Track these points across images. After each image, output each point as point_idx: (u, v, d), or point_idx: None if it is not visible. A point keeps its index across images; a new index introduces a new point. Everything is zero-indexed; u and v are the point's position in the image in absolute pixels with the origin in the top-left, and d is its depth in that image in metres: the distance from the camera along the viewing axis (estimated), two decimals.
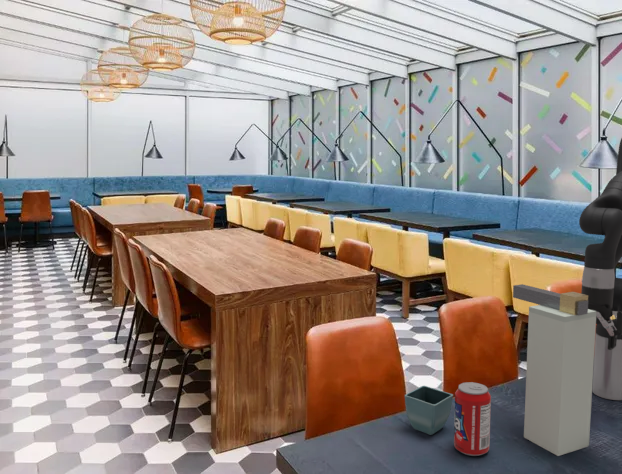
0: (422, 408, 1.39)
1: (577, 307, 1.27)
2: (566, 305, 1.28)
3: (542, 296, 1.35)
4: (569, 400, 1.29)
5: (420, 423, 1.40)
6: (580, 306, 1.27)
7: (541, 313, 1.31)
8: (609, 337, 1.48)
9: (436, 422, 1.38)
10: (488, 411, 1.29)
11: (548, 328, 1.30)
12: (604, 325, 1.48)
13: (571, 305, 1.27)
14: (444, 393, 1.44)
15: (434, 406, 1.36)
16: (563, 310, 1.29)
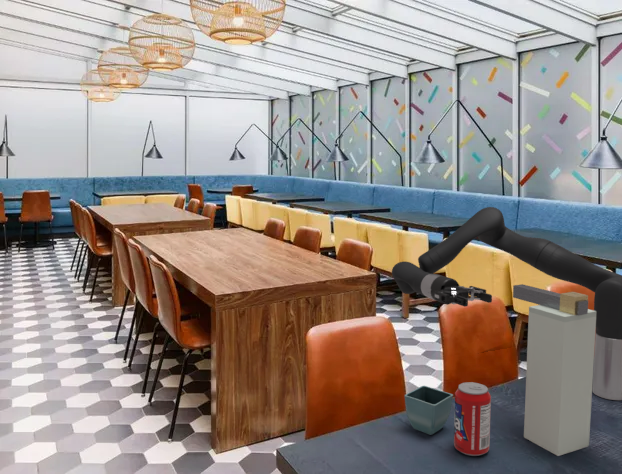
0: (422, 408, 1.39)
1: (577, 307, 1.27)
2: (566, 305, 1.28)
3: (542, 296, 1.35)
4: (569, 400, 1.29)
5: (420, 423, 1.40)
6: (580, 306, 1.27)
7: (541, 313, 1.31)
8: (482, 292, 1.60)
9: (436, 422, 1.38)
10: (488, 411, 1.29)
11: (548, 328, 1.30)
12: (471, 288, 1.62)
13: (571, 305, 1.27)
14: (444, 393, 1.44)
15: (434, 406, 1.36)
16: (563, 310, 1.29)
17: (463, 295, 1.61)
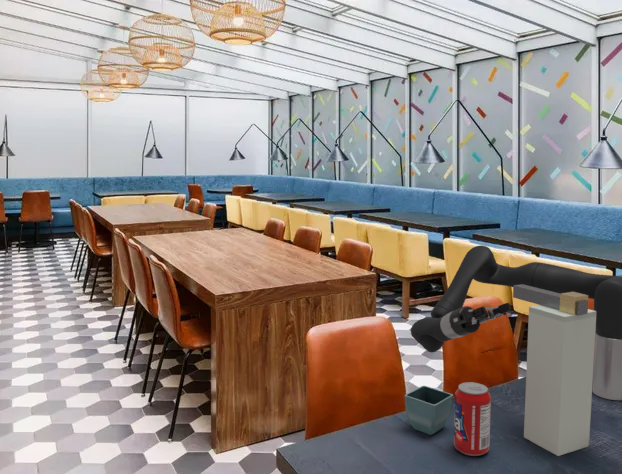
0: (422, 408, 1.39)
1: (577, 307, 1.27)
2: (566, 305, 1.28)
3: (542, 296, 1.35)
4: (569, 400, 1.29)
5: (420, 423, 1.40)
6: (580, 306, 1.27)
7: (541, 313, 1.31)
8: None
9: (436, 422, 1.38)
10: (488, 411, 1.29)
11: (548, 328, 1.30)
12: None
13: (571, 305, 1.27)
14: (444, 393, 1.44)
15: (434, 406, 1.36)
16: (563, 310, 1.29)
17: None
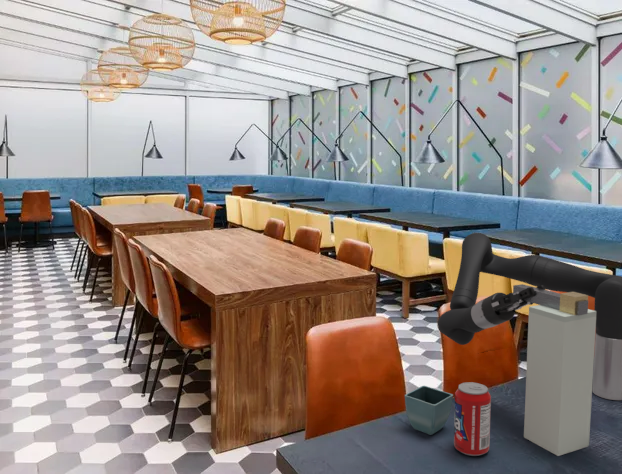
0: (422, 408, 1.39)
1: (577, 307, 1.27)
2: (566, 305, 1.28)
3: (542, 296, 1.35)
4: (569, 400, 1.29)
5: (420, 423, 1.40)
6: (580, 306, 1.27)
7: (541, 313, 1.31)
8: None
9: (436, 422, 1.38)
10: (488, 411, 1.29)
11: (548, 328, 1.30)
12: None
13: (571, 305, 1.27)
14: (444, 393, 1.44)
15: (434, 406, 1.36)
16: (563, 310, 1.29)
17: None
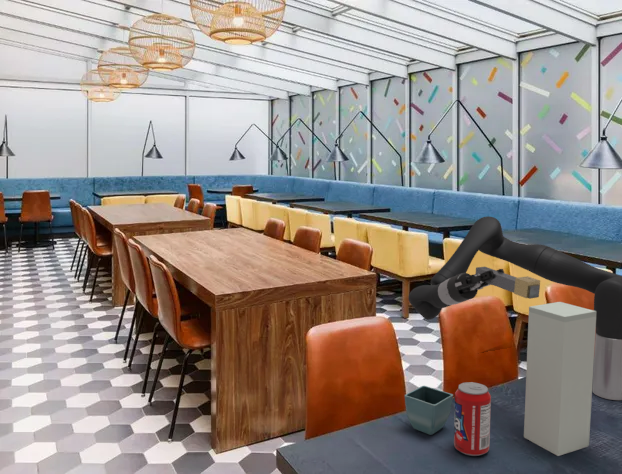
0: (422, 408, 1.39)
1: (529, 291, 1.38)
2: (520, 288, 1.40)
3: (500, 279, 1.47)
4: (569, 400, 1.29)
5: (420, 423, 1.40)
6: (532, 290, 1.38)
7: (541, 313, 1.31)
8: None
9: (436, 422, 1.38)
10: (488, 411, 1.29)
11: (548, 328, 1.30)
12: None
13: (524, 289, 1.39)
14: (444, 393, 1.44)
15: (434, 406, 1.36)
16: (517, 293, 1.41)
17: None
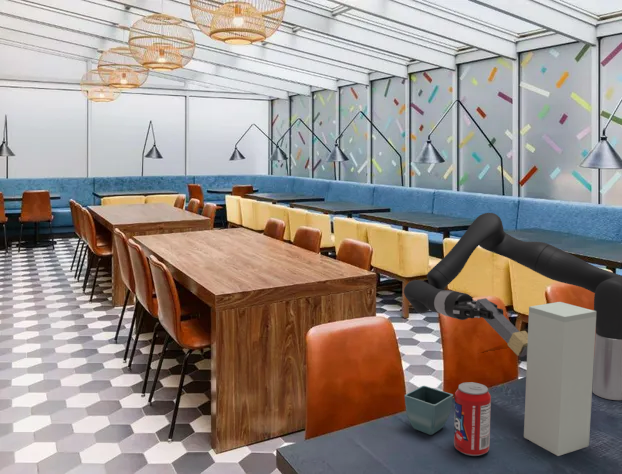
0: (422, 408, 1.39)
1: (522, 351, 1.42)
2: (514, 344, 1.43)
3: (498, 324, 1.49)
4: (569, 400, 1.29)
5: (420, 423, 1.40)
6: (525, 350, 1.42)
7: (541, 313, 1.31)
8: None
9: (436, 422, 1.38)
10: (488, 411, 1.29)
11: (548, 328, 1.30)
12: None
13: (518, 347, 1.42)
14: (444, 393, 1.44)
15: (434, 406, 1.36)
16: (510, 346, 1.45)
17: None
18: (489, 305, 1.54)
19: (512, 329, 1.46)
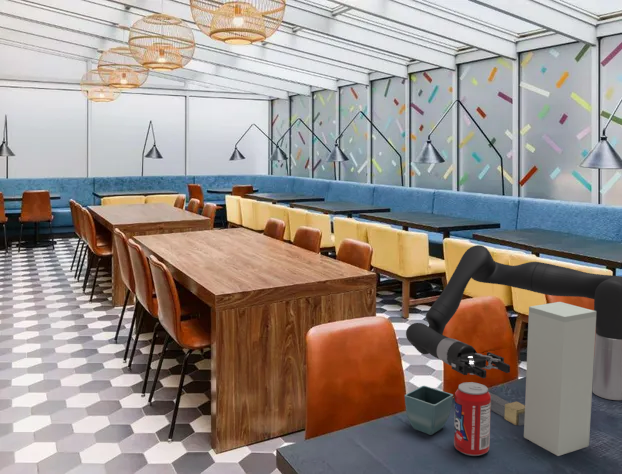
0: (422, 408, 1.39)
1: (518, 418, 1.45)
2: (509, 415, 1.47)
3: (491, 402, 1.53)
4: (569, 400, 1.29)
5: (420, 423, 1.40)
6: (521, 418, 1.45)
7: (541, 313, 1.31)
8: (500, 361, 1.57)
9: (436, 422, 1.38)
10: (488, 411, 1.29)
11: (548, 328, 1.30)
12: (488, 356, 1.59)
13: (513, 416, 1.46)
14: (444, 393, 1.44)
15: (434, 406, 1.36)
16: (507, 419, 1.48)
17: (480, 364, 1.58)
18: None
19: (505, 403, 1.51)
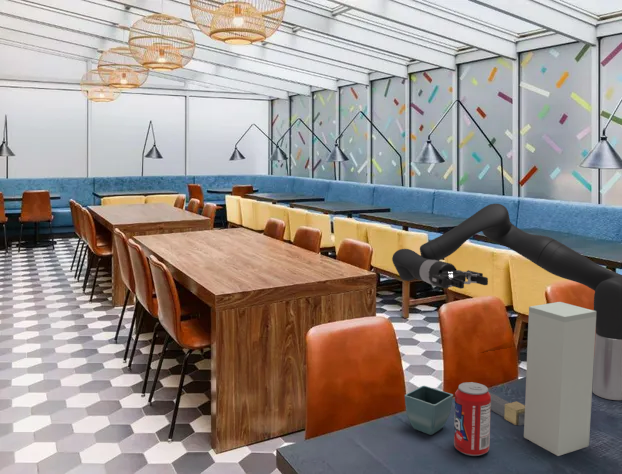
0: (422, 408, 1.39)
1: (518, 418, 1.45)
2: (509, 415, 1.47)
3: (491, 402, 1.53)
4: (569, 400, 1.29)
5: (420, 423, 1.40)
6: (520, 418, 1.45)
7: (541, 313, 1.31)
8: (478, 275, 1.65)
9: (436, 422, 1.38)
10: (488, 411, 1.29)
11: (548, 328, 1.30)
12: (468, 272, 1.67)
13: (513, 416, 1.46)
14: (444, 393, 1.44)
15: (434, 406, 1.36)
16: (507, 419, 1.48)
17: (460, 278, 1.66)
18: None
19: (505, 403, 1.51)
